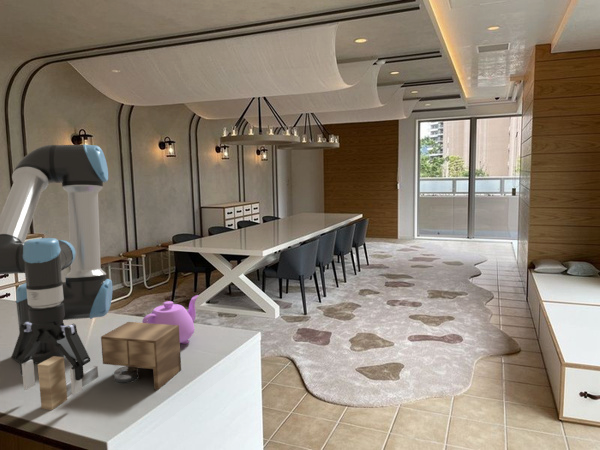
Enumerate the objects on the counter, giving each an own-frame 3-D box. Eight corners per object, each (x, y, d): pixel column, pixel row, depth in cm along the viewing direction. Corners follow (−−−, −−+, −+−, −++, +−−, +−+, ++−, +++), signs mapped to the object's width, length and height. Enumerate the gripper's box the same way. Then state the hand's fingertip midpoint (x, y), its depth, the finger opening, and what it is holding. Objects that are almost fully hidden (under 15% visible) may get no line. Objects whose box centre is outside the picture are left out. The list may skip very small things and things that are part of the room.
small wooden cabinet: (103, 384, 124) (100, 336, 122) (130, 365, 135) (128, 321, 134) (158, 390, 120) (155, 341, 118) (181, 369, 132) (178, 325, 130)
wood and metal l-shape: (52, 409, 111) (48, 365, 109) (41, 408, 111) (37, 364, 110) (101, 376, 128) (98, 338, 127) (91, 376, 129) (89, 337, 127)
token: (110, 383, 125) (109, 374, 124) (123, 373, 130) (123, 365, 130) (129, 385, 123) (129, 376, 123) (142, 375, 129) (142, 366, 129)
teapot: (186, 328, 166) (184, 290, 165) (214, 337, 156) (213, 297, 155) (129, 346, 150) (126, 305, 148) (156, 359, 140) (154, 314, 138)
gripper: (-11, 305, 110) (-3, 392, 112) (80, 311, 104) (87, 402, 106) (15, 297, 117) (22, 378, 119) (102, 302, 111) (108, 387, 113)
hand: (53, 390), depth 113 cm, fingers open, 13 cm apart
